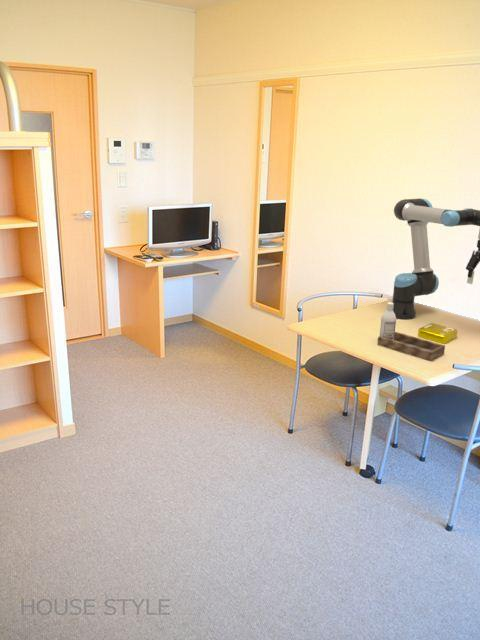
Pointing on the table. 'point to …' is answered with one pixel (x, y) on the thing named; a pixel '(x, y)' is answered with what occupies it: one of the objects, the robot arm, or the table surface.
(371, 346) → the table surface
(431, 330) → the element tile
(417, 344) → the brown wooden tray
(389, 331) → the bath foam
